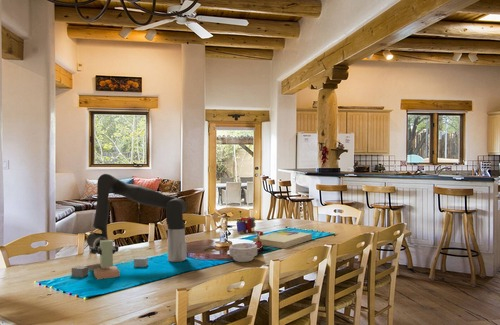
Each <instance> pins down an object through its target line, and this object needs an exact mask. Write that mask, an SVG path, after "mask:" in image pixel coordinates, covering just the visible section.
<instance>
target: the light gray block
mask: <svg viewBox="0 0 500 325" xmlns="http://www.w3.org/2000/svg"><path fill="white" fill-rule="evenodd" d="M148 266H149V257H147V256H146V257H145V256H140V257H138V256H136V257H135V258H134V259H133V267H134V268H137V267H139V268H145V267H148Z"/></svg>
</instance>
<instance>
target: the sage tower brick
mask: <svg viewBox="0 0 500 325" xmlns="http://www.w3.org/2000/svg"><path fill="white" fill-rule="evenodd" d="M113 242H114V241H113V240H112V239H111V238H110V239H109V238H108V240H100V249H101V250H102V255H100V254H99V266H100V268H104V267H113V266H114V254H113V246H114V244H113Z"/></svg>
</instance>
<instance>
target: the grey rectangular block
mask: <svg viewBox="0 0 500 325" xmlns="http://www.w3.org/2000/svg"><path fill="white" fill-rule="evenodd" d="M88 275H89V266H81V265H77V266H72V267H71V277H74V278H75V277H77V278H83V277H86V276H88Z"/></svg>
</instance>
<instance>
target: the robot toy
mask: <svg viewBox="0 0 500 325" xmlns="http://www.w3.org/2000/svg"><path fill="white" fill-rule="evenodd" d="M238 212H239V214H240V216H241V215H242V211H241V210H239V211H238ZM256 226H257V225H256V217H251V216H247V217H242V216H241V217H240V218H237V220H236V232H237V233H243V232H245V233H246V234H248V233H252V232H253V231H252V230H253V229H254V228H255V227H256Z"/></svg>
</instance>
